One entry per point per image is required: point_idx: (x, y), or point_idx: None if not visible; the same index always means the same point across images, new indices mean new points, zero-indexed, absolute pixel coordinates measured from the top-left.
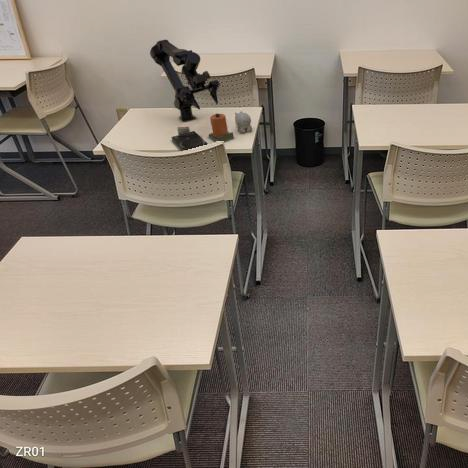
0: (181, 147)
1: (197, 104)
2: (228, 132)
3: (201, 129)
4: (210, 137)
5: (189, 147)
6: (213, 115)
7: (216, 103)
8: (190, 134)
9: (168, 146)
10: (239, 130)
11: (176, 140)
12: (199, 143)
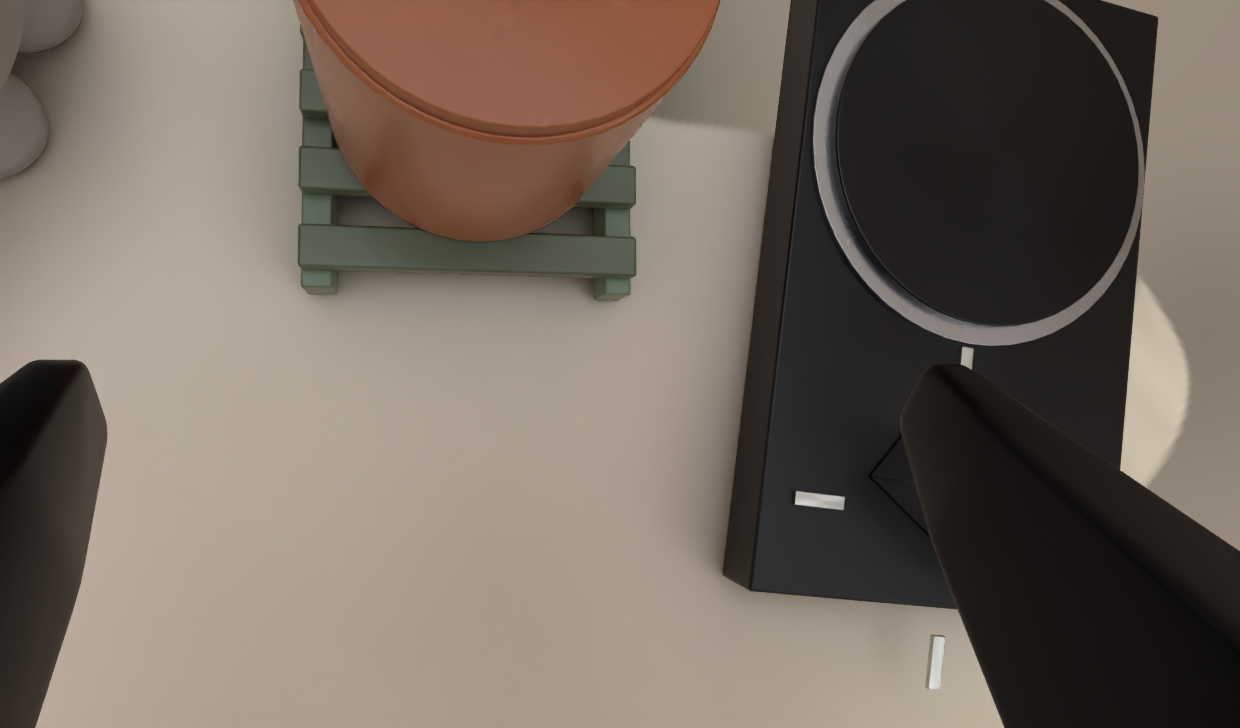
0: (1146, 156)
1: (1062, 462)
2: (307, 73)
3: (531, 720)
4: (624, 226)
5: (1085, 42)
6: (567, 73)
7: (101, 444)
8: (874, 474)
9: (1154, 469)
10: (63, 7)
11: (1105, 435)
12: (937, 24)
